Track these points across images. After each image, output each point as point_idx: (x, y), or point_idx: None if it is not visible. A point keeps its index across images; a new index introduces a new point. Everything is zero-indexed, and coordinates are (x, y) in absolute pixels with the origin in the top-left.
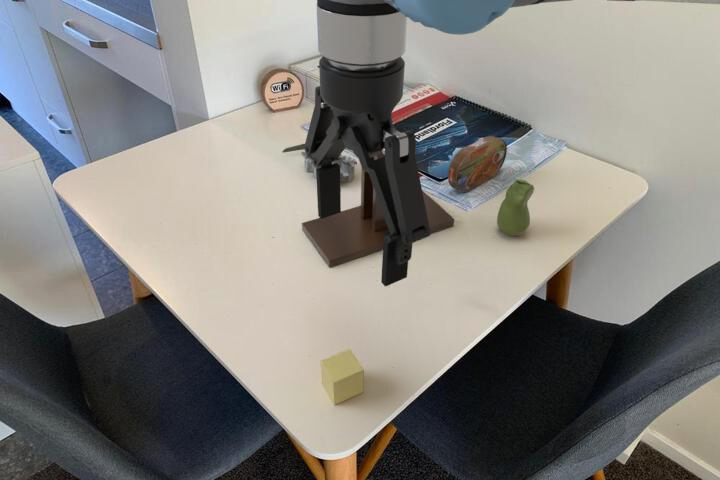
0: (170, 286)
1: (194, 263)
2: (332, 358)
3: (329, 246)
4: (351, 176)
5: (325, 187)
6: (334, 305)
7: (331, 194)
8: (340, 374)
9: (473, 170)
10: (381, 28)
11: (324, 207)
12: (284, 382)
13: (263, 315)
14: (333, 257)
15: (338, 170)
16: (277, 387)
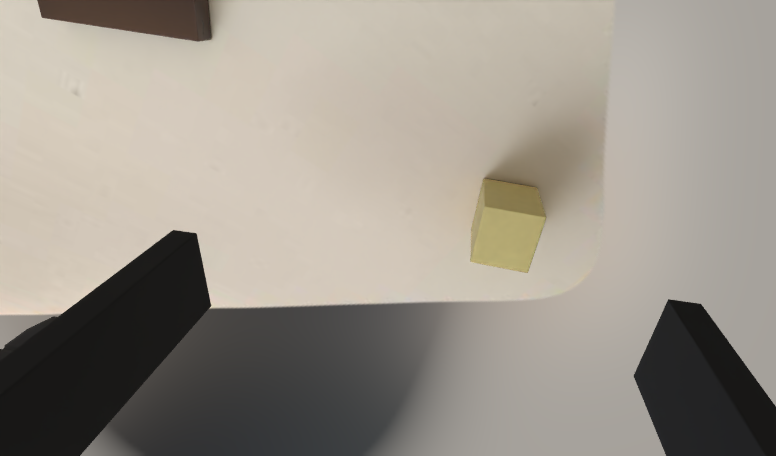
0: None
1: (119, 246)
2: (481, 244)
3: (148, 7)
4: None
5: (104, 395)
6: (323, 101)
7: (133, 333)
8: (522, 254)
9: None
10: None
11: (179, 324)
12: (430, 268)
13: (283, 222)
14: (191, 24)
15: (2, 409)
16: (432, 279)
